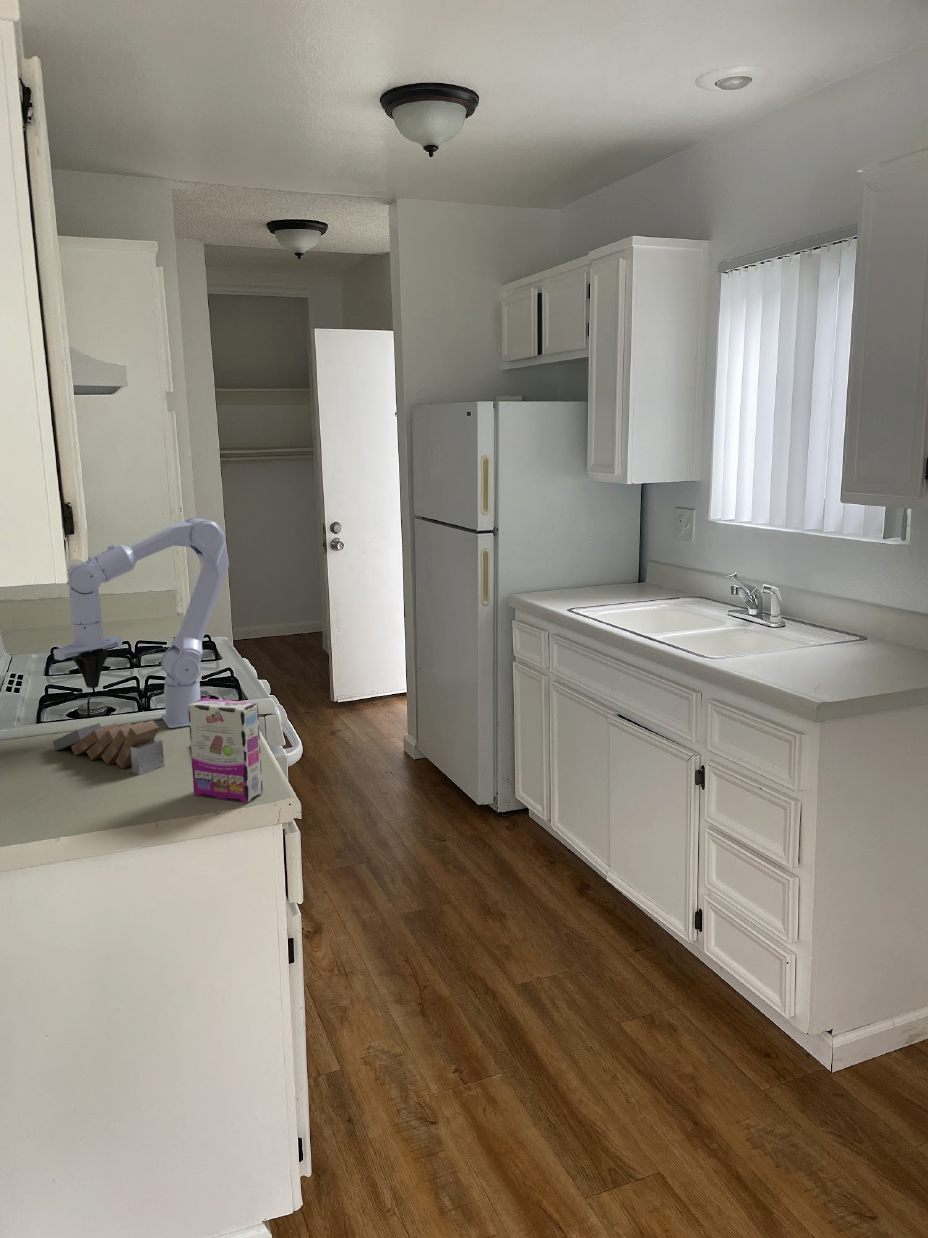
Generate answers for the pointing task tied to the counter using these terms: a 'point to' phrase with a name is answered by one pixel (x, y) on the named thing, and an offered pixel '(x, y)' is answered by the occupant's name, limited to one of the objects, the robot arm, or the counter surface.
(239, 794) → the candy bar box
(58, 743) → the domino
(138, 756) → the block
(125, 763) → the domino
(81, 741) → the domino
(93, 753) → the domino
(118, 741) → the domino
